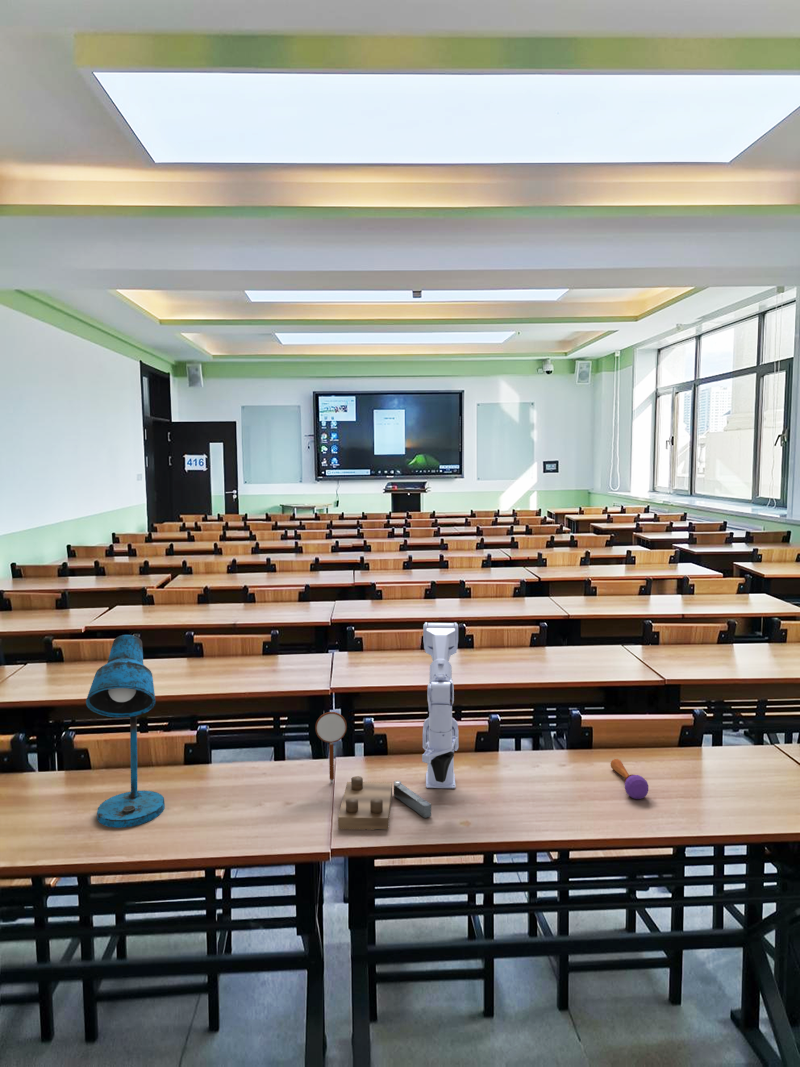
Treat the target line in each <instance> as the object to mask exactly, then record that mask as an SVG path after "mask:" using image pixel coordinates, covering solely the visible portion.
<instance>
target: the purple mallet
mask: <svg viewBox="0 0 800 1067" xmlns="http://www.w3.org/2000/svg"><path fill="white" fill-rule="evenodd" d="M610 768H611V769H612V770H613V771H614V772H616V773H617V774H619V775H621V776H622V777H623V778H624V791H625V793H626V794H627V795H628V796H629V797H630V798H632V799H634V800H641V799H644V798H645V797H646V796H647V795H648V792H649V783H648V781H647V780H646V779H645V778H644V777H643V776H641V775H639V774H629V772H628V771H627V769H626V768H625V766H624V764H623V762H622V761H621V760H620V759H619V758H614V759H612V760H611V761H610Z"/></svg>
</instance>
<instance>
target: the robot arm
mask: <svg viewBox="0 0 800 1067" xmlns="http://www.w3.org/2000/svg"><path fill="white" fill-rule="evenodd" d="M422 626H423V629H422V630H423V632H422V635H423V649H424V653H426V654H428V655H429V656H430V657H431V660H432V662H431V663H430V664H429V680H428V681H429V683H428V684H427V704H428V706H427V707H428V715H429V716H428V717H427V718H426V719H424V722H423V726H422V749H423V750H424V753H423V754H421V761H422V763H424V764H427V765H426V766H427V769H426V770H427V771H426V772H425V787H426V789H456V775H455V772H454V770H455V769H454V768H455V767H454V766H455V764H454V762H455V761H454V760H455V759H454V758H455V757H454V756H455V751H456V752H457V751H458V750H459V723H458V721H457V720H456V719H455V718H454V717H453V704H454V701H455V696H454V695H455V692H454V690H455V688H454V687H455V686H454V682H453V678H452V674H453V673H452V672H453V669H452V668H453V667H452V664H451V662H450V659H451V656H453V655H455V654H456V653H457V650H458V648H459V647H458V644H459V624H458V623H457V622H427V621H425V622H424V624H423V625H422Z"/></svg>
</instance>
